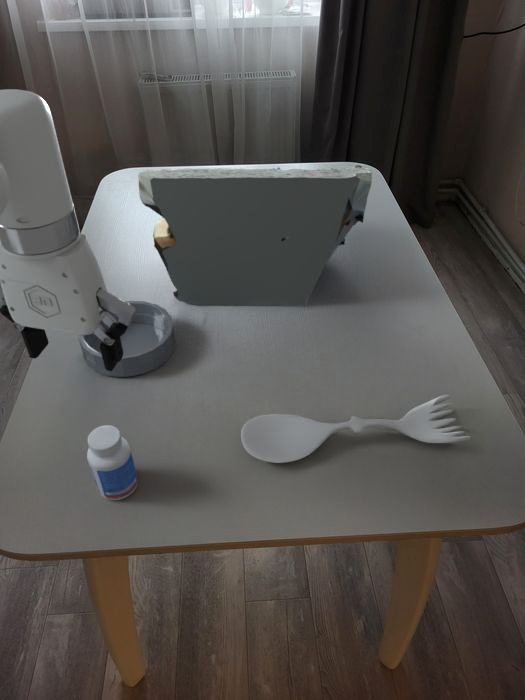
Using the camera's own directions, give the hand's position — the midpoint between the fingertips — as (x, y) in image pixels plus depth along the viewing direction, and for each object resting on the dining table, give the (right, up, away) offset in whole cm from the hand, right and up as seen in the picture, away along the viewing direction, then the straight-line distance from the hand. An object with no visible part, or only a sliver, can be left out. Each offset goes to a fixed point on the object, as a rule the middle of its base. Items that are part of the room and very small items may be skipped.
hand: (76, 357), depth 66 cm
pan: (-1, +1, +31) cm, 31 cm away
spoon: (+35, -12, +15) cm, 40 cm away
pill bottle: (+3, -18, +9) cm, 20 cm away
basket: (+21, +18, +50) cm, 57 cm away
